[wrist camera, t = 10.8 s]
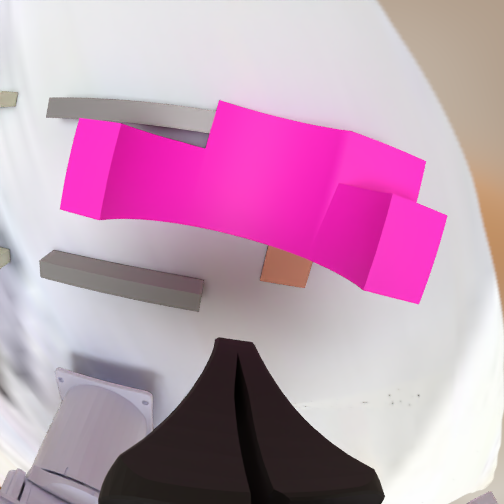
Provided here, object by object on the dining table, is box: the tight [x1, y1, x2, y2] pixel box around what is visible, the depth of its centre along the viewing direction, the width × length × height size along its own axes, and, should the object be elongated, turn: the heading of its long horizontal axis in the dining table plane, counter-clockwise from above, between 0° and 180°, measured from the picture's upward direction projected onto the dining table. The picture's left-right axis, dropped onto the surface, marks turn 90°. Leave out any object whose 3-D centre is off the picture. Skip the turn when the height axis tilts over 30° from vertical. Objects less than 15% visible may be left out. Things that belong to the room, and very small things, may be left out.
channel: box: [39, 98, 312, 312], centre depth 17 cm, size 11×18×2 cm, turn 78°
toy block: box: [60, 100, 447, 304], centre depth 14 cm, size 15×6×8 cm, turn 75°
